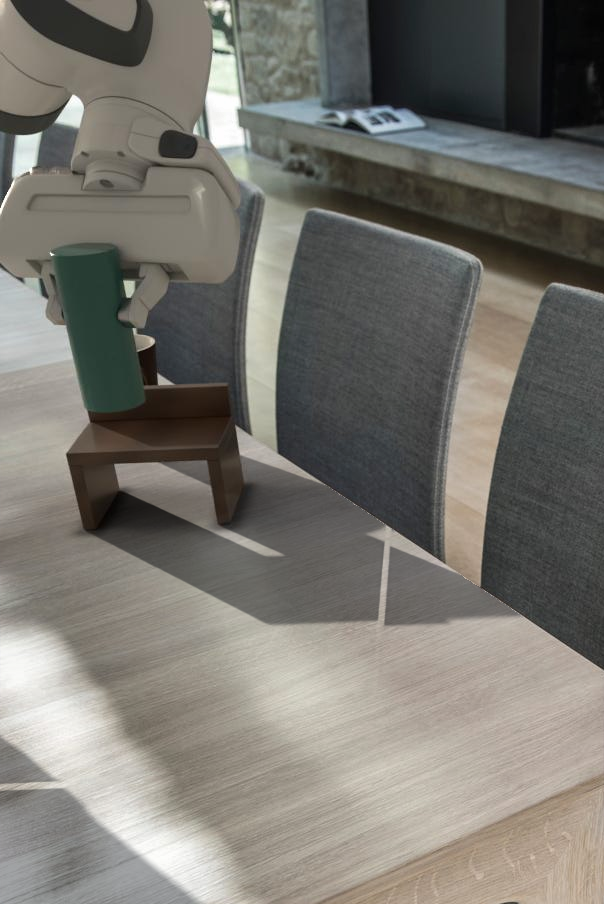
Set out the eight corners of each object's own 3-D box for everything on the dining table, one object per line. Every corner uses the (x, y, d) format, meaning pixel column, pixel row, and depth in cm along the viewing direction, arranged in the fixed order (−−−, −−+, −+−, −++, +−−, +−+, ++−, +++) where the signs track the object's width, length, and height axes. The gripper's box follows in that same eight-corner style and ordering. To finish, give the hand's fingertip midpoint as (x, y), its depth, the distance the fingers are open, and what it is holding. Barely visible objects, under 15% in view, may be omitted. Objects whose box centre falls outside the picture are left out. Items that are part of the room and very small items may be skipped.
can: (76, 414, 93) (41, 257, 86) (92, 394, 97) (59, 243, 90) (139, 411, 93) (107, 254, 86) (151, 392, 97) (123, 241, 90)
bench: (83, 529, 110) (58, 421, 104) (108, 489, 118) (85, 387, 113) (229, 524, 110) (212, 415, 104) (244, 484, 119) (229, 382, 113)
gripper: (-5, 140, 92) (-46, 296, 90) (229, 140, 88) (193, 305, 85) (39, 191, 98) (2, 339, 96) (260, 194, 94) (228, 348, 91)
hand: (94, 323), depth 91 cm, fingers closed on can, 5 cm apart
